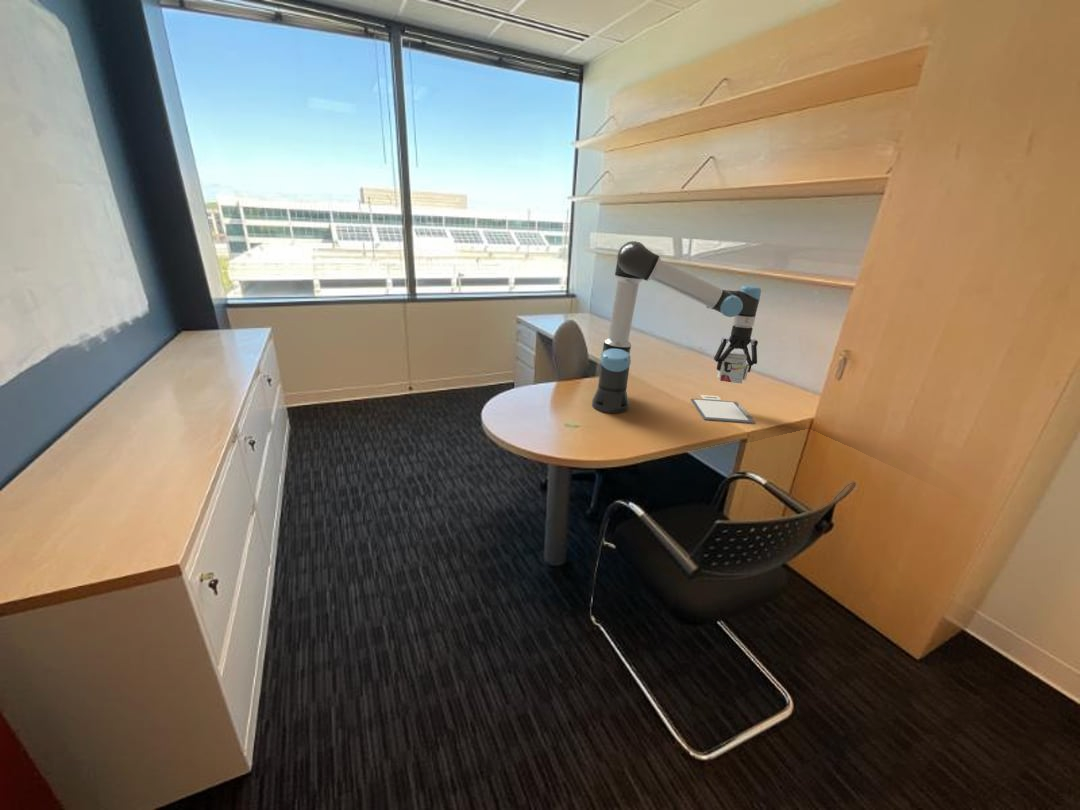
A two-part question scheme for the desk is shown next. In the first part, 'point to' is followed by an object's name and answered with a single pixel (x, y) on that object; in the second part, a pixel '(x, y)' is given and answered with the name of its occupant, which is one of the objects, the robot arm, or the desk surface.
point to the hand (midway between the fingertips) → (731, 378)
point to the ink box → (734, 367)
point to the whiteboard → (722, 411)
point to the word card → (710, 397)
